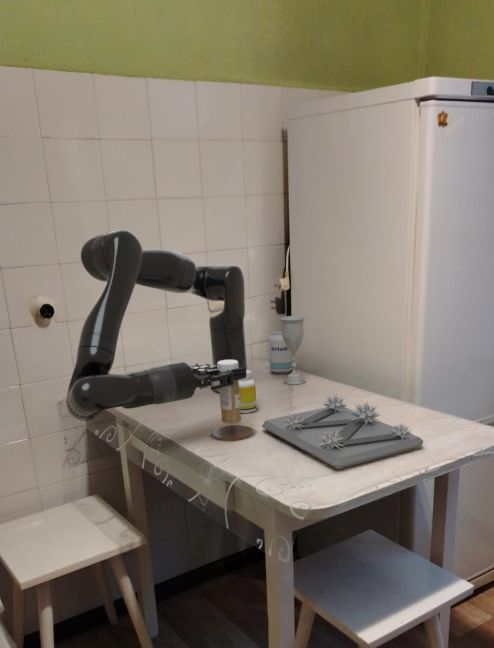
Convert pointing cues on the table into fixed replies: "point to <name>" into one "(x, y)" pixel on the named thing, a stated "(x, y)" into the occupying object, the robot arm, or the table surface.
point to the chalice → (293, 342)
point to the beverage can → (279, 354)
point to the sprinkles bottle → (229, 395)
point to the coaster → (232, 432)
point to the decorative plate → (343, 434)
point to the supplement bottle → (247, 393)
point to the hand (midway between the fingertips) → (238, 370)
